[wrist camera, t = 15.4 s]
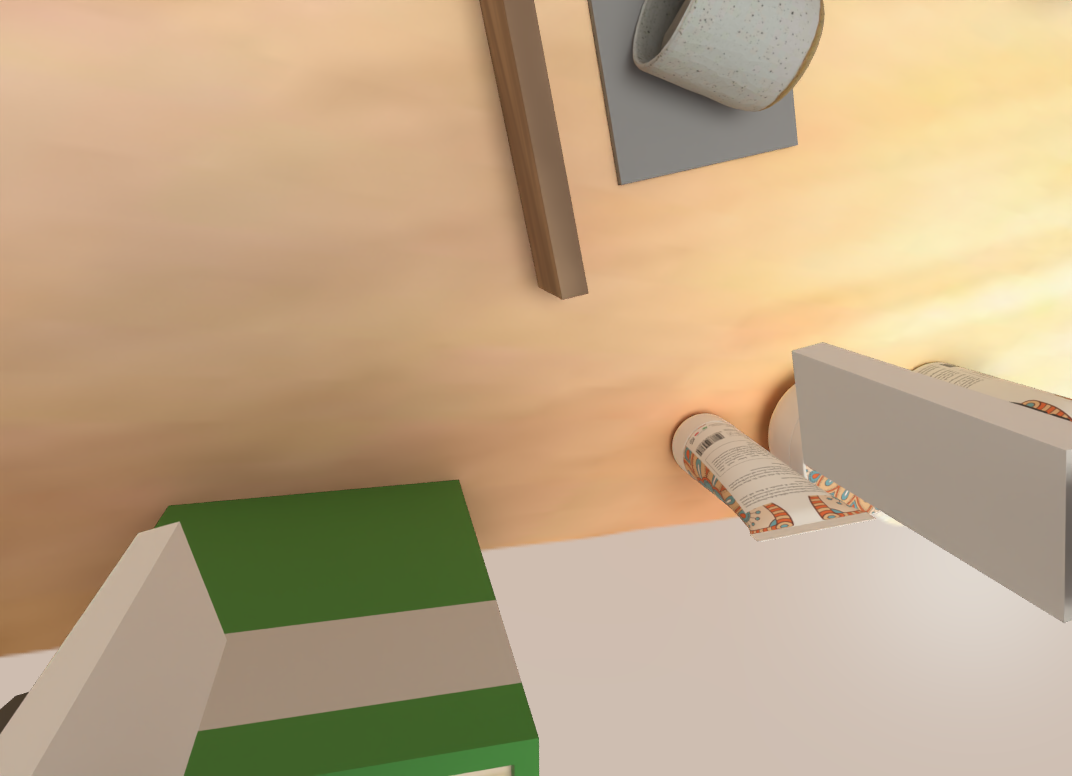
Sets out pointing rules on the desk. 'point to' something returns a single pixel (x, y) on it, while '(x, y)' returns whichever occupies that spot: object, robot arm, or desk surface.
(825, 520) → the cosmetic set
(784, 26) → the ceramic mug
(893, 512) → the robot arm
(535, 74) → the walnut screen
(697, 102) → the mat
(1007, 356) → the desk surface
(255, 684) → the hardback book
